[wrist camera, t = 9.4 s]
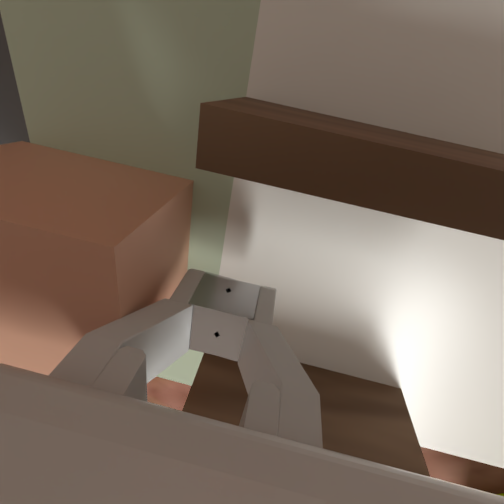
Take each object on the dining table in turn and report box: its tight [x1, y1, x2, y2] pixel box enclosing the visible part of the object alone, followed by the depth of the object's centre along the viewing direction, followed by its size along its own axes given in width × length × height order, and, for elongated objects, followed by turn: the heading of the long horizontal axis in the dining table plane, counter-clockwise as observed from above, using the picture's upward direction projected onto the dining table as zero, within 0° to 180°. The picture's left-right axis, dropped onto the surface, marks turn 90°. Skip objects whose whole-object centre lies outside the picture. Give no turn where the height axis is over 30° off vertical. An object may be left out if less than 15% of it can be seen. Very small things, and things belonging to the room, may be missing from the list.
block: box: [0, 141, 194, 375], centre depth 9 cm, size 6×6×4 cm
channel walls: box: [182, 97, 504, 477], centre depth 9 cm, size 11×9×4 cm
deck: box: [0, 0, 504, 468], centre depth 12 cm, size 17×31×3 cm, turn 80°
